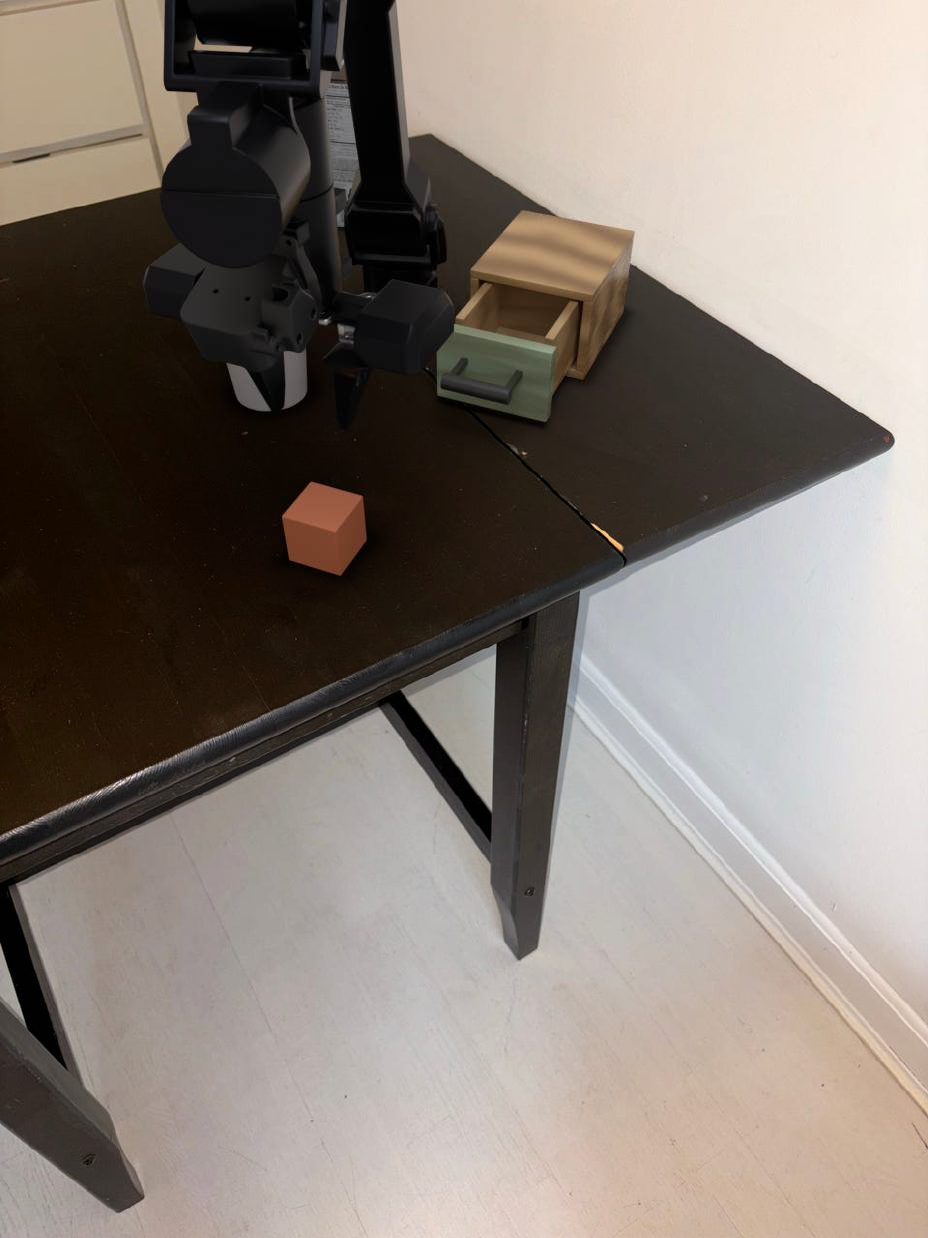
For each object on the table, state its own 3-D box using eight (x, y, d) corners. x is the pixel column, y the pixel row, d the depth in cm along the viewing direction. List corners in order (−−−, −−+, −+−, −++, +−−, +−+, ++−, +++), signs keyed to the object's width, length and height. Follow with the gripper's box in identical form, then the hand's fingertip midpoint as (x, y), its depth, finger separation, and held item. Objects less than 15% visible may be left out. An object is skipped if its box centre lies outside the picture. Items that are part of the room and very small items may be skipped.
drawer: (529, 450, 80) (534, 380, 75) (417, 421, 83) (414, 352, 78) (588, 352, 91) (596, 285, 86) (487, 329, 94) (490, 263, 89)
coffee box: (342, 193, 117) (330, 47, 105) (393, 198, 116) (386, 51, 105) (320, 226, 111) (304, 74, 99) (373, 231, 110) (363, 79, 98)
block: (289, 560, 72) (281, 516, 69) (317, 525, 75) (311, 480, 72) (340, 576, 71) (335, 532, 68) (367, 539, 74) (363, 495, 71)
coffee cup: (340, 374, 90) (325, 215, 79) (295, 430, 83) (272, 267, 72) (249, 355, 92) (222, 198, 81) (199, 408, 85) (162, 247, 75)
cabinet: (583, 380, 89) (593, 294, 83) (468, 353, 92) (470, 269, 86) (623, 312, 98) (634, 230, 92) (517, 290, 101) (522, 209, 95)
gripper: (49, 211, 50) (124, 452, 61) (367, 279, 45) (384, 527, 57) (172, 137, 57) (218, 366, 68) (458, 190, 52) (457, 426, 64)
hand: (312, 418), depth 64 cm, fingers open, 5 cm apart
